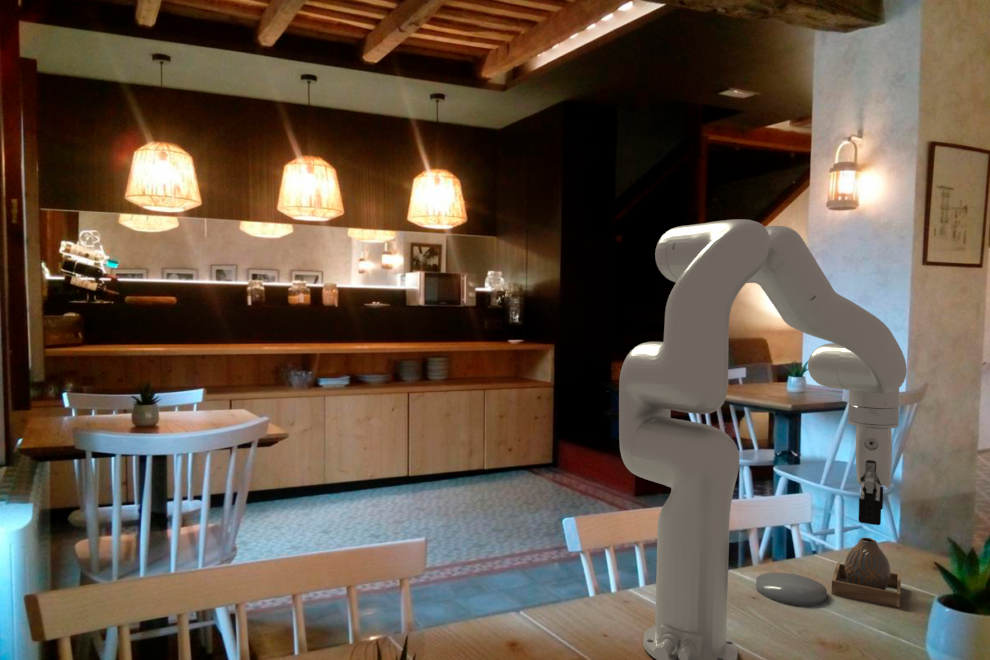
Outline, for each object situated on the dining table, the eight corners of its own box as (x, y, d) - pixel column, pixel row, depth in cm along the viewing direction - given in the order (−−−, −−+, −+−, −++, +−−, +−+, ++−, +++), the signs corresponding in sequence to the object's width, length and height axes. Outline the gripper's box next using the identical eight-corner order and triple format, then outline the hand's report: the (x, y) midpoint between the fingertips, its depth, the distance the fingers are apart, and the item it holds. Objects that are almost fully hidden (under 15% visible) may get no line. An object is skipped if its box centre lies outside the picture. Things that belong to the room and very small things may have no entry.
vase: (895, 600, 116) (897, 548, 116) (850, 596, 117) (852, 544, 117) (881, 584, 123) (883, 535, 123) (839, 580, 124) (840, 531, 124)
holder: (899, 607, 113) (900, 594, 113) (831, 593, 118) (831, 580, 118) (900, 586, 122) (900, 574, 122) (836, 574, 127) (837, 562, 127)
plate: (822, 611, 111) (823, 603, 111) (750, 595, 117) (750, 588, 117) (829, 588, 121) (829, 581, 121) (762, 574, 126) (762, 568, 126)
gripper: (897, 426, 110) (895, 533, 111) (899, 410, 125) (897, 506, 126) (844, 421, 114) (842, 526, 114) (852, 407, 129) (850, 500, 129)
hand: (870, 515), depth 120 cm, fingers open, 9 cm apart
